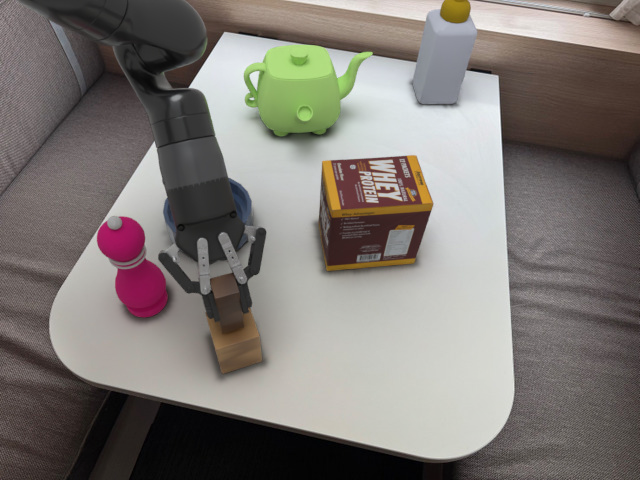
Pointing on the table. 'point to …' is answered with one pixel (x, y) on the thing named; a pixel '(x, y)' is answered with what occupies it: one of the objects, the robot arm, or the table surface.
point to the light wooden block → (236, 344)
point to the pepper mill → (132, 266)
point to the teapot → (299, 88)
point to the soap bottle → (444, 53)
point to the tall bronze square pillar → (227, 302)
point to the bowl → (241, 203)
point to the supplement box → (372, 211)
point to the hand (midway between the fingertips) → (231, 315)
